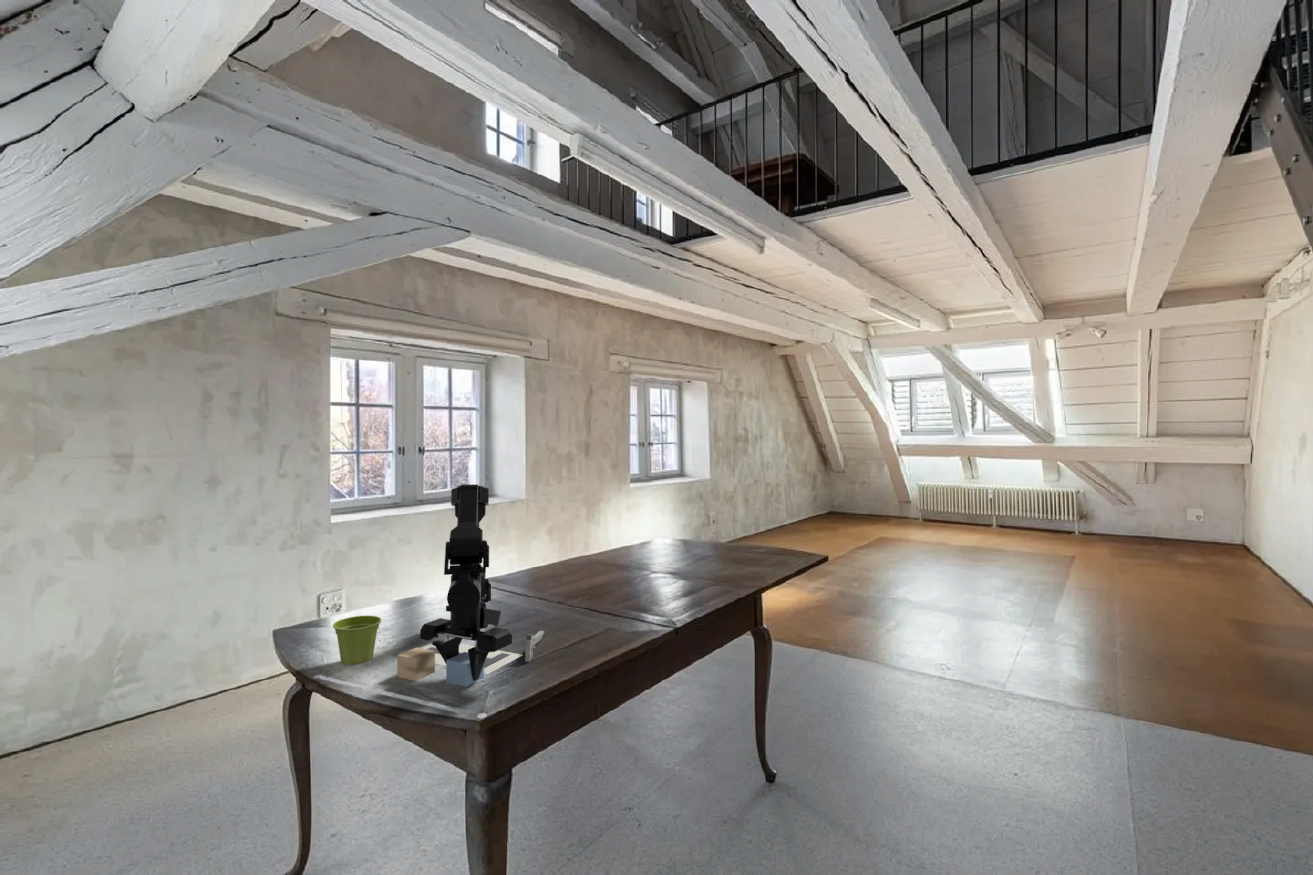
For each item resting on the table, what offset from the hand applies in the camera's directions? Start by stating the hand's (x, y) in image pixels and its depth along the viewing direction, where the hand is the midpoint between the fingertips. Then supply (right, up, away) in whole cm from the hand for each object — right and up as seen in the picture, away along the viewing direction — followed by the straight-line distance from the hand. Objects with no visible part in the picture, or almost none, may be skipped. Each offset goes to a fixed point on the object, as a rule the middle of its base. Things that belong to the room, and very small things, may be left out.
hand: (465, 677), depth 117 cm
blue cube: (0, -1, 0) cm, 1 cm away
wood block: (-11, -1, +3) cm, 11 cm away
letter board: (-5, -1, +13) cm, 14 cm away
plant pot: (-27, -1, +11) cm, 29 cm away
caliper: (+10, -2, +20) cm, 22 cm away
